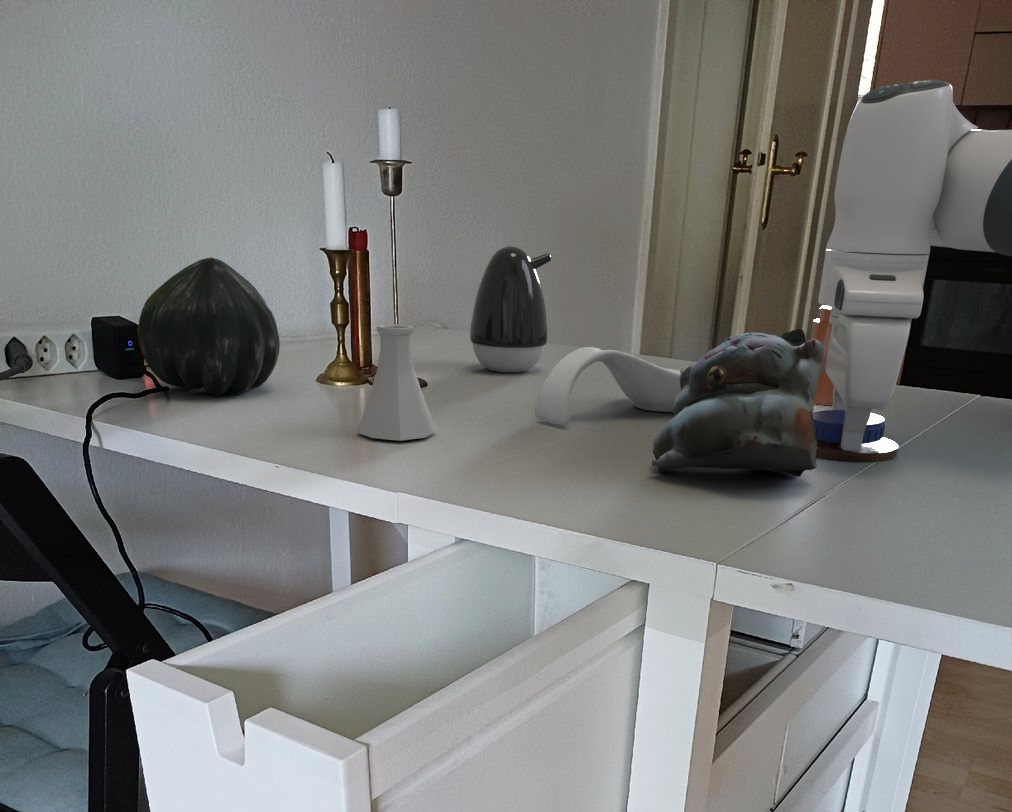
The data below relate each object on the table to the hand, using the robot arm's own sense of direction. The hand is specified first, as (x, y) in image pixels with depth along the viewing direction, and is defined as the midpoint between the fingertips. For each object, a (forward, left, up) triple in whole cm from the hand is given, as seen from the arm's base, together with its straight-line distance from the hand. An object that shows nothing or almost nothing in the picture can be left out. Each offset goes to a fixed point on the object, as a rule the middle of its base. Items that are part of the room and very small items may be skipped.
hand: (844, 439), depth 98 cm
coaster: (0, 0, -1) cm, 1 cm away
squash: (+64, -26, -1) cm, 69 cm away
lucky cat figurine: (+14, +9, -1) cm, 17 cm away
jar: (-8, -25, -1) cm, 26 cm away
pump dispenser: (+29, -44, -1) cm, 53 cm away
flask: (+43, -4, -1) cm, 43 cm away
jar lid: (0, 0, +2) cm, 2 cm away
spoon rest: (+18, -16, -1) cm, 24 cm away
